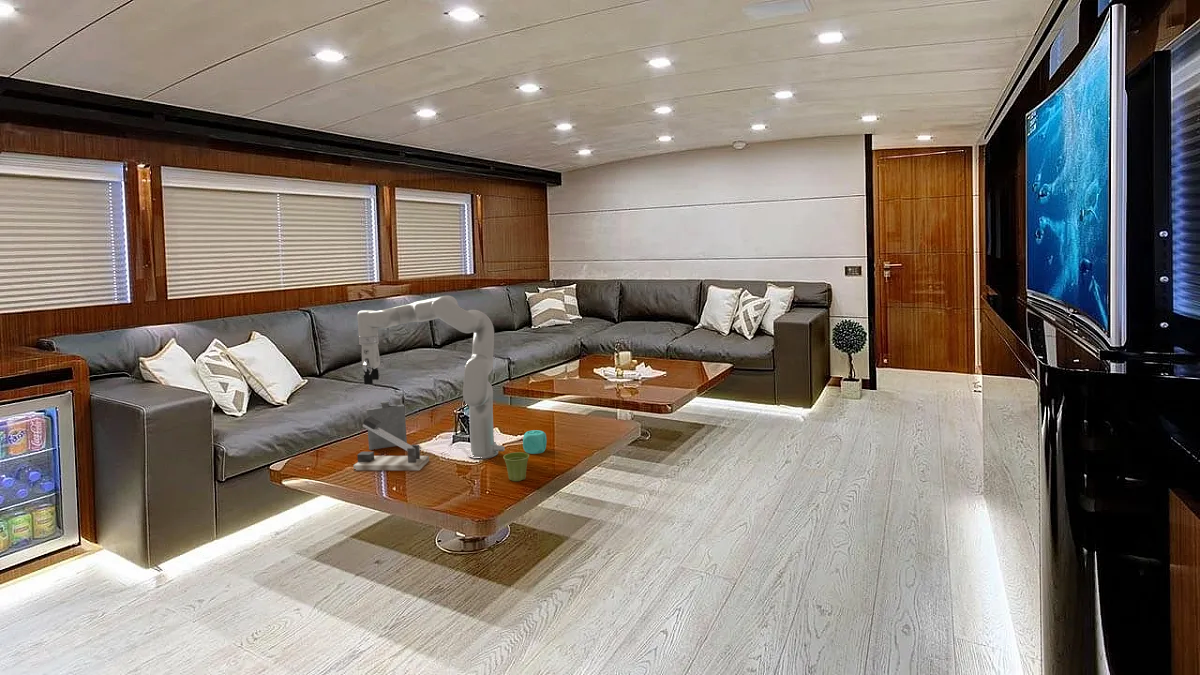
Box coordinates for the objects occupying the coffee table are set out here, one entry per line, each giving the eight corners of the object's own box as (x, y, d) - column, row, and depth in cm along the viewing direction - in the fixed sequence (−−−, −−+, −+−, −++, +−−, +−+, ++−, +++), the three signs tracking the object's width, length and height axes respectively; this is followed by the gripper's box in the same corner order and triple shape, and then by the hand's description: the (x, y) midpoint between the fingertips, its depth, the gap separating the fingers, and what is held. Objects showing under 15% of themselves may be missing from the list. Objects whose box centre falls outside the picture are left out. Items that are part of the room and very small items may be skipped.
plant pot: (529, 482, 240) (528, 459, 239) (503, 483, 239) (502, 460, 238) (530, 474, 249) (529, 451, 248) (505, 475, 249) (504, 452, 247)
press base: (429, 460, 268) (428, 442, 267) (419, 470, 256) (418, 451, 255) (366, 460, 270) (365, 442, 269) (353, 470, 258) (352, 451, 257)
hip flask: (369, 450, 284) (366, 404, 282) (368, 447, 288) (365, 402, 285) (407, 444, 291) (404, 400, 289) (405, 442, 295) (403, 398, 292)
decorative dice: (541, 454, 273) (541, 435, 272) (523, 453, 275) (522, 434, 274) (547, 448, 281) (546, 430, 280) (528, 448, 283) (528, 429, 282)
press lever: (414, 450, 264) (418, 443, 264) (410, 454, 259) (414, 446, 259) (366, 423, 264) (370, 416, 264) (361, 426, 259) (365, 419, 259)
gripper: (372, 343, 262) (375, 385, 264) (383, 337, 279) (386, 377, 281) (353, 343, 261) (356, 386, 263) (365, 338, 278) (368, 378, 281)
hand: (371, 381), depth 272 cm, fingers open, 9 cm apart
